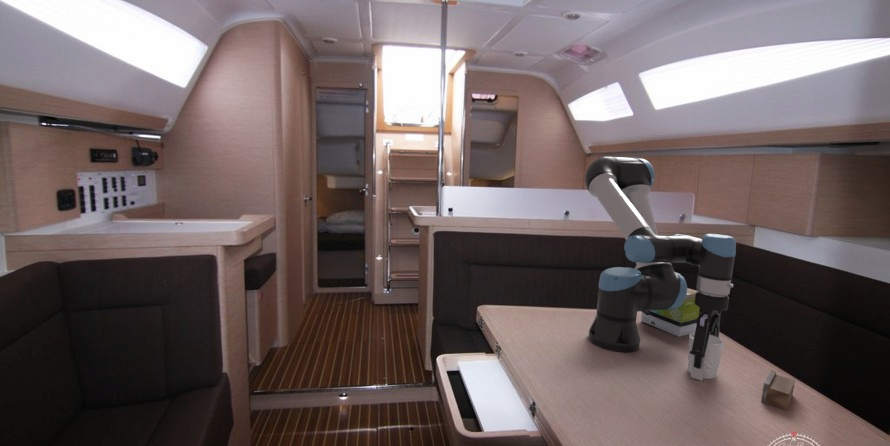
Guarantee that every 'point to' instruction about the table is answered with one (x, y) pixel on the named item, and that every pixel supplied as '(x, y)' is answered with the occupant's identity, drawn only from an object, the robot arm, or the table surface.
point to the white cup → (708, 355)
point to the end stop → (777, 390)
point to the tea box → (675, 317)
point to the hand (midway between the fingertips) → (702, 372)
